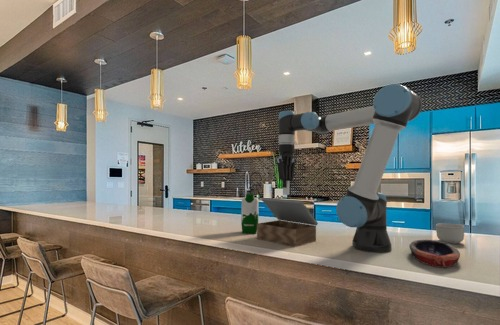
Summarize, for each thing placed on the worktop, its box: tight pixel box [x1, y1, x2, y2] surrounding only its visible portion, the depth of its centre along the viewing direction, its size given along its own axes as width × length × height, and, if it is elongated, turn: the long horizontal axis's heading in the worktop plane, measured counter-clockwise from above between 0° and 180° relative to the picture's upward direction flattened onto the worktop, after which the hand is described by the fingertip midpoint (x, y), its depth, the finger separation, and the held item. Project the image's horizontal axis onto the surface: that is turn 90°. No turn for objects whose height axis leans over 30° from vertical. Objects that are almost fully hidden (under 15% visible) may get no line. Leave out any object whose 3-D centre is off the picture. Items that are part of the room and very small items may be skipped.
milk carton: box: [240, 193, 260, 235], centre depth 156 cm, size 9×9×20 cm
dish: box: [409, 239, 461, 268], centre depth 110 cm, size 16×31×5 cm, turn 152°
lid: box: [261, 197, 319, 226], centre depth 141 cm, size 23×17×2 cm
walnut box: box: [256, 219, 317, 248], centre depth 139 cm, size 22×16×7 cm
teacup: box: [435, 222, 465, 245], centre depth 138 cm, size 14×11×8 cm
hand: (286, 194), depth 140 cm, fingers closed
